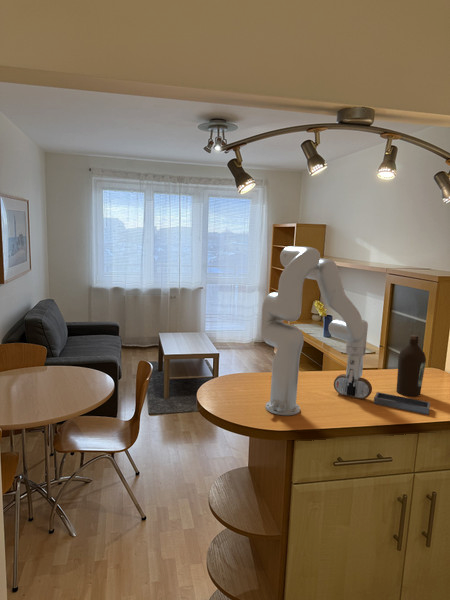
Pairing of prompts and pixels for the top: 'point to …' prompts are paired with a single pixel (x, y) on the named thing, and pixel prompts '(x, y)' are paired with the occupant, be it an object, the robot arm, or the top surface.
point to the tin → (361, 385)
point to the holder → (402, 403)
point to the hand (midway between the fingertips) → (351, 393)
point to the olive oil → (411, 369)
